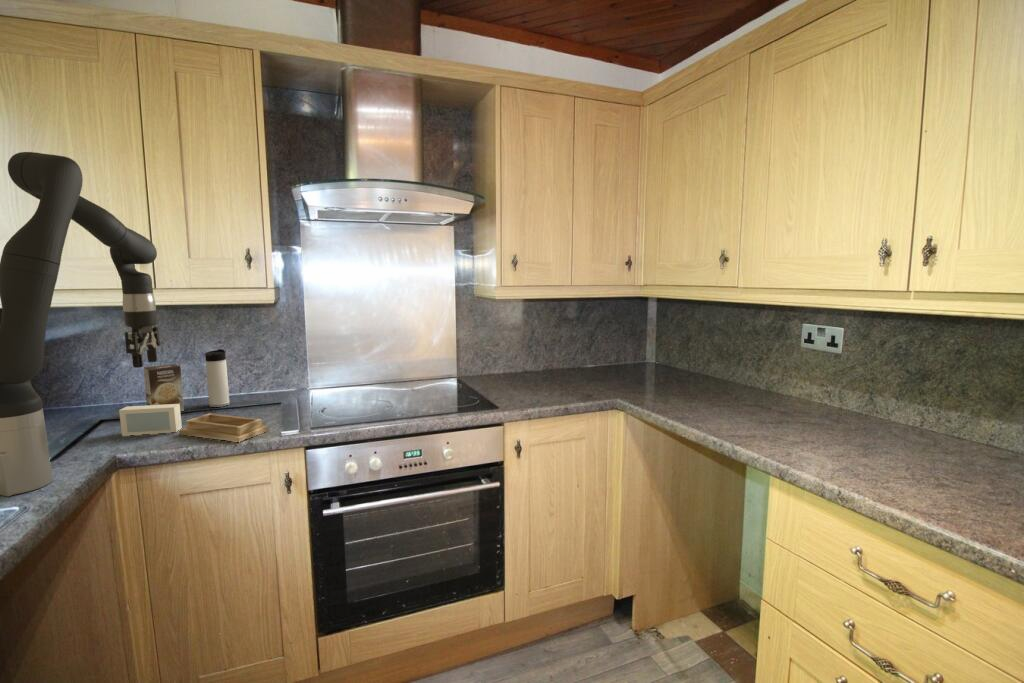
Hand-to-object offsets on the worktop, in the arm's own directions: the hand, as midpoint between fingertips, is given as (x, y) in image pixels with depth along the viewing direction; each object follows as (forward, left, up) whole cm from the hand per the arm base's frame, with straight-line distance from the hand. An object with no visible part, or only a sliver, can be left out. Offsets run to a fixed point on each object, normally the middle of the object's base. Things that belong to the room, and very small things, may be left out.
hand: (145, 364), depth 143 cm
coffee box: (+16, +15, -21) cm, 30 cm away
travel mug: (+29, +6, -21) cm, 36 cm away
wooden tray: (+6, -21, -21) cm, 30 cm away
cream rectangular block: (0, 0, -21) cm, 21 cm away
